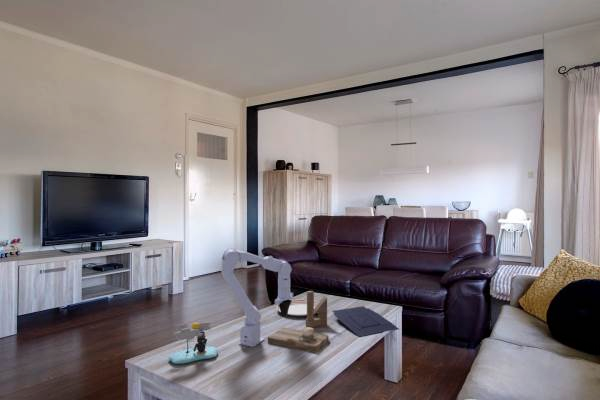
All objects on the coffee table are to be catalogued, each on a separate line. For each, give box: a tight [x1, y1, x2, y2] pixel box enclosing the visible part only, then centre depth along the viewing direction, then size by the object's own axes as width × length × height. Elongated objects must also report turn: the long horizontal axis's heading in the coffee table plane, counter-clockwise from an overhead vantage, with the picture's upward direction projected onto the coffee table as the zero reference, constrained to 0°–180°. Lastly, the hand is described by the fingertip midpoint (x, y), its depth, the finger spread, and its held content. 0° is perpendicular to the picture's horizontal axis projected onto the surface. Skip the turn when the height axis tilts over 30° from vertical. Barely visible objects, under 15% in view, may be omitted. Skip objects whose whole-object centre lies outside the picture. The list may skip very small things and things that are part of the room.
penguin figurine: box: [168, 321, 219, 365], centre depth 155 cm, size 20×11×15 cm, turn 113°
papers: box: [332, 305, 400, 337], centre depth 196 cm, size 24×30×4 cm
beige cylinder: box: [301, 327, 315, 340], centre depth 169 cm, size 5×5×6 cm
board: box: [267, 327, 329, 353], centre depth 172 cm, size 14×24×2 cm, turn 64°
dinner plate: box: [276, 299, 320, 317], centre depth 217 cm, size 27×27×3 cm
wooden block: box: [305, 290, 328, 328], centre depth 193 cm, size 4×11×18 cm, turn 113°
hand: (284, 316), depth 176 cm, fingers closed
